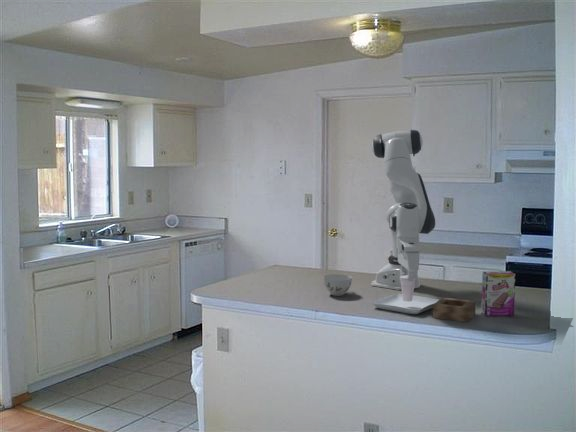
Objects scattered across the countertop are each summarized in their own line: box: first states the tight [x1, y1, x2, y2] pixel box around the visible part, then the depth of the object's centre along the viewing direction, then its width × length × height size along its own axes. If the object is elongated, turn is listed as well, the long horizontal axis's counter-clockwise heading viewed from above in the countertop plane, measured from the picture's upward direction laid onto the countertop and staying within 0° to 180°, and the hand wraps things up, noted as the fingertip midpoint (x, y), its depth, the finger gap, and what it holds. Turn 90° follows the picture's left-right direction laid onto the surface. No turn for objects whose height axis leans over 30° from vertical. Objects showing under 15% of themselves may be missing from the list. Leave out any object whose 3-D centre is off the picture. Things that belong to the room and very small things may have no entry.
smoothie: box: [400, 275, 416, 302], centre depth 242 cm, size 6×6×14 cm
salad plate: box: [371, 293, 440, 315], centre depth 243 cm, size 21×21×3 cm
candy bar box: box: [480, 270, 516, 317], centre depth 229 cm, size 11×5×16 cm, turn 92°
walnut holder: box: [432, 297, 476, 323], centre depth 229 cm, size 13×13×5 cm
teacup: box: [323, 273, 353, 297], centre depth 266 cm, size 15×12×8 cm
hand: (407, 278), depth 242 cm, fingers open, 8 cm apart
